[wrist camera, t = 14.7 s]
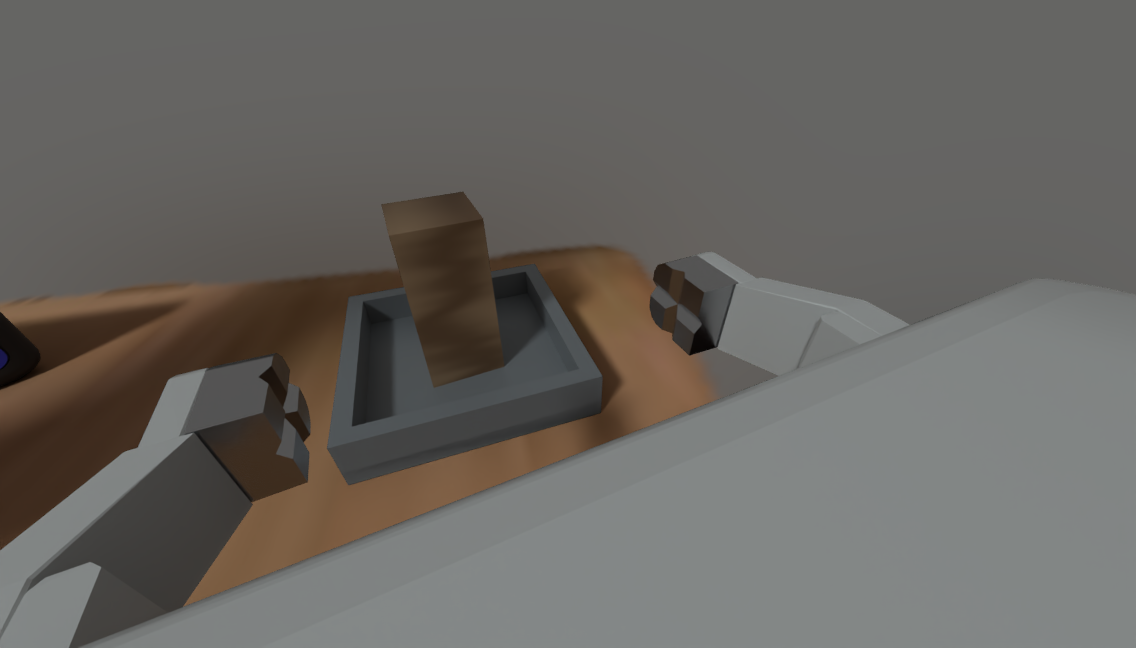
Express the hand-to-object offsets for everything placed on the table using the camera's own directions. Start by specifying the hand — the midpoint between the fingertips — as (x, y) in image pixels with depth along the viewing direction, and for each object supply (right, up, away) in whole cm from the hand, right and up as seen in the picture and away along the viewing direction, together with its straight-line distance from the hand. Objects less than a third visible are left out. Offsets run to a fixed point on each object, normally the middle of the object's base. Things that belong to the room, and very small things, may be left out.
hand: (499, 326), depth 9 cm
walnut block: (-6, -2, +19) cm, 20 cm away
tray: (-5, -3, +19) cm, 20 cm away
